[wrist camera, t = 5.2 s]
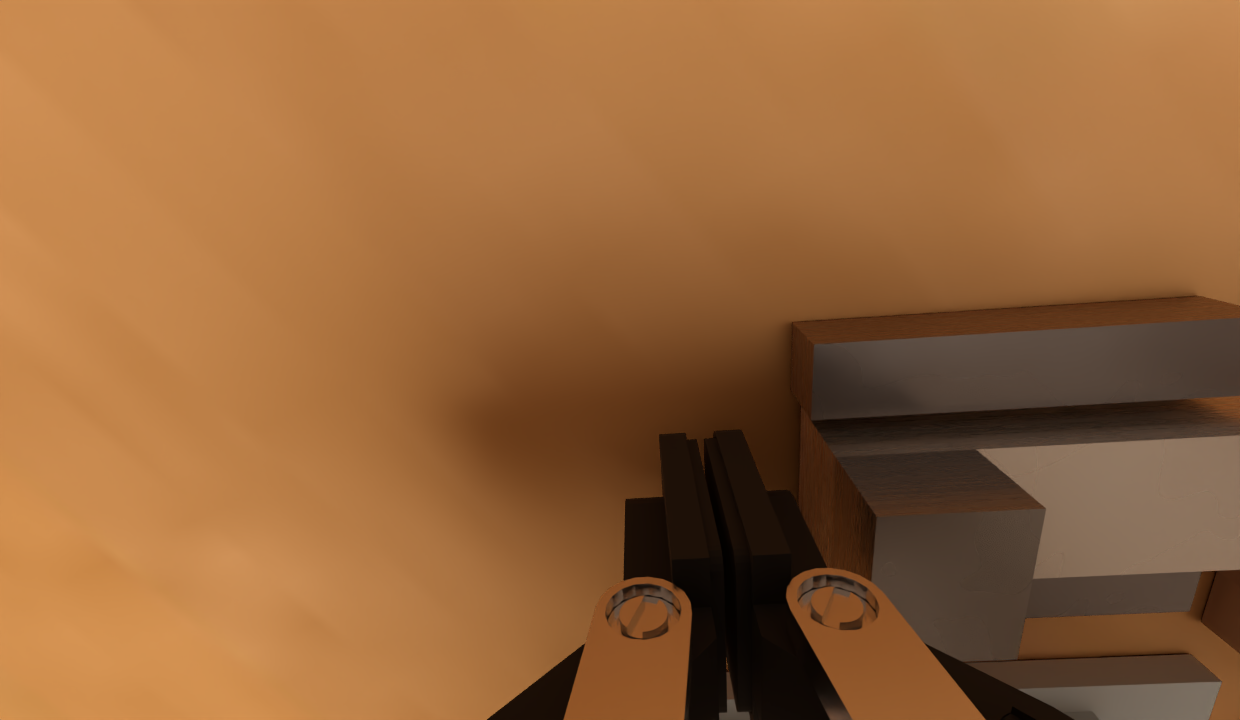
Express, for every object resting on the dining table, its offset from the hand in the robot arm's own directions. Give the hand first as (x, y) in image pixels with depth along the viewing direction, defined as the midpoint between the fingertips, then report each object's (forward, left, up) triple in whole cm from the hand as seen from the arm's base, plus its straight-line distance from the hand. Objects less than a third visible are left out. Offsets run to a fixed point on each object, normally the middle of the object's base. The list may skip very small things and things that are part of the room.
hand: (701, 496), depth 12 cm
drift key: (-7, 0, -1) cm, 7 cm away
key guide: (-6, 0, -1) cm, 6 cm away
